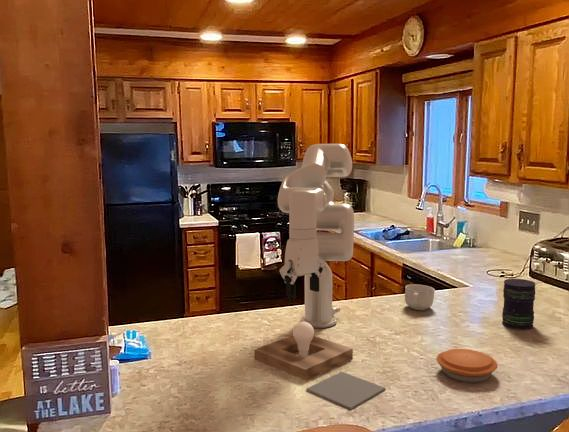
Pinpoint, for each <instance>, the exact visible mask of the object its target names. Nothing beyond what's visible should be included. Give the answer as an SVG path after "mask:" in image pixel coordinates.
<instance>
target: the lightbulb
mask: <svg viewBox="0 0 569 432" xmlns="http://www.w3.org/2000/svg"><path fill="white" fill-rule="evenodd" d="M292 335H293V336H294V338H295V340H296V342H297V345H298V350H299V352H298V356H301V357H304V358H305V357H308V356H309V353H308V351H309V345H310V342H311V340H312V339H313V336H315V329H314V328H313V327H312V325H311V324H309V323H307V322H297V323H296V324H295V325H294V327H293V328H292Z"/></svg>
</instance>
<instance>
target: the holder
mask: <svg viewBox="0 0 569 432" xmlns="http://www.w3.org/2000/svg"><path fill="white" fill-rule="evenodd" d="M253 351H254V355H253V356H254V360H255V361H258V362H259V363H261V364H262V363H263V364H264V365H267V366H270V367H271V368H275V369H277V370H279V371H282V372H284V373H287V374H288V375H291V376H293V377H296V378H299V379H301V380H304V381H307V380H308V381H309V380H310V379H312V378H314V377H317V376H318V375H321V374H323V373H325V372H328V371H330V370H331V369H333V368H335V367H337V366H340V365H342V364H344V363H346V362H348V361H351V360H353V357H354V356H353V355H354V354H353V353H354V348H352V347H349V346H346V345H343V344H340V343H337V342H334V341H331V340H327V339H325V338H322V337H319V336H317V335H314V336H313V339H312V340H311V342H310V345H309V351H308V354H310V355H308V357H305V358H304V357H301V356H299V350H298V345H297V342H296V340H295V338H294V336H293V334H292V335H289V336H287V337H284V338H282V339H278V340H276V341H273V342H271V343H269V344H266V345H263V346H260V347H257V348H255V349H253Z"/></svg>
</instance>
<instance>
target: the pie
mask: <svg viewBox="0 0 569 432" xmlns="http://www.w3.org/2000/svg"><path fill="white" fill-rule="evenodd" d="M436 362H437V364H438V365H439V366H440V368H441V369H442V371H443V373H444V374H445V375H446V376H447V377H448V378H450V379H453V380H455V381H458V382H463V383H472V384H473V383H481V382H485V381H486V380H487V379H489V377H491V375H492V374H493V372H495V371H496V370H497V369H498V366H499V365H498V363H497V361H496V360H495V359H494V358H493V357H491V356H489V355H488V354H485V353H484V352H481V351H477V350H473V349H467V348H454V349H453V348H451V349H449V350H445V351H442V352H440V353H439V354H437V356H436Z"/></svg>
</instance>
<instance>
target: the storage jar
mask: <svg viewBox="0 0 569 432" xmlns="http://www.w3.org/2000/svg"><path fill="white" fill-rule="evenodd" d="M503 284H504V285H503V290H502V291H503V294H502V295H503V307H502V313H501V314H502V316H501V317H502V318H501V319H502V322H501V323H502V325H503V327H505V328H507V329H511V330H517V331H529V330H530V331H531V330H532V329H534V320H535V316H534V315H535V311H534V306H535V305H534V303H535V302H534V301H535V299H536V283H535V282H534V281H532V280H530V279H529V280H528V279H525V278H524V279H523V278H522V279H521V278H507V279H504V281H503Z"/></svg>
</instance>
